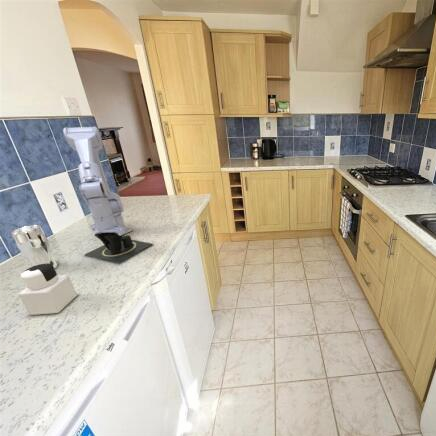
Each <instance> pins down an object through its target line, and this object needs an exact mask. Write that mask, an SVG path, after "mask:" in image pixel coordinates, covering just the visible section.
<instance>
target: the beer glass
mask: <svg viewBox="0 0 436 436" xmlns="http://www.w3.org/2000/svg"><path fill="white" fill-rule="evenodd" d="M10 234H11V236H12V238H13V241H14V243H15V245H16V247H17V248H18V250H19V251H20V252H21V253H22V255H23V256H24V257H25V258H26V259H27V261H28V262H29V264H30V265H31V267H33V266H36V265H39V264H52V265H53V267H54V269H56V268H57V267H58V263H57V262H56V260H55V259H54V257H53V255H52V252H51V247H50V243H49V240H48V238H47V235H46V233H45V232H44V230H43V228H42V226H41V225H39V224H31V225H26V226H22V227H19V228H16V229H13V230H12V231H11V232H10Z"/></svg>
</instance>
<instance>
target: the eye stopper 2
mask: <svg viewBox="0 0 436 436" xmlns="http://www.w3.org/2000/svg"><path fill="white" fill-rule="evenodd" d="M132 240H133V239H132V238H131V235H129V234H127V235H126V234H125V235H123V236H122V243H123V246H124V248H129V247H131V246H133V243H132Z"/></svg>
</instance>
